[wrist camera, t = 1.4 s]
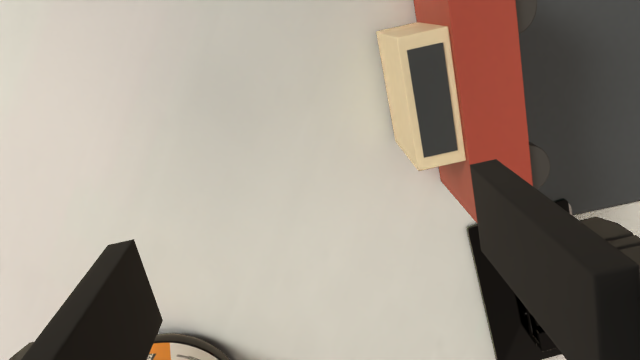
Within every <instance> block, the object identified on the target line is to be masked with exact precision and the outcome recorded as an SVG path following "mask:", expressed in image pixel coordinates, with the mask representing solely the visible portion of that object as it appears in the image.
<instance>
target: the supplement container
mask: <svg viewBox="0 0 640 360" xmlns="http://www.w3.org/2000/svg"><path fill="white" fill-rule="evenodd" d="M147 360H230V359H229V358H228V357H227V356H226V355H225V354H224V353H223V352H222V351H220V350H219V349H218V348H216V347H215V346H213V345H212V344H210V343H208V342H206V341H204V340H201V339H199V338H196V337H192V336H188V335H183V334H168V333H167V334H157V336H156V338H155V341H154V343H153V345H152V348H151V350H150V353H149V355H148V358H147Z"/></svg>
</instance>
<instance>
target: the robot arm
mask: <svg viewBox="0 0 640 360" xmlns="http://www.w3.org/2000/svg"><path fill="white" fill-rule="evenodd" d="M470 171H471V178H472V186H473V193H474V201H475V208H476V216H477V223H478V230H479V238H480V245H481V251H482V252H483V253H484V255H485V256H486V257H487V259H488V260H489V261H490V262H491V264H492V265H493V266H494V267H495V269H496V270H497V271H498V273H499V274H500V275H501V276H502V278H503V279H504V280H505V281H506V283H507V284H508V285H509V287H510V288H511V289H512V290H513V292H514V293H515V294H516V295H517V297H518V298H519V299H520V301H521V302H522V303H523V304H524V306H525V307H526V308H527V309H528V311H529V312H530V313H531V315H532V316H533V317H534V318H535V320H536V321H537V322H538V324H539V325H540V326H541V327H542V329H543V330H544V331H545V332H546V334H547V335H548V336H549V338H550V339H551V340H552V341H553V343H554V344H555V345H556V346H557V348H558V349H559V350H560V352H561V353H562V354H563V355H564V357H565V358H566V359H567V360H640V238H639V237H638V236H636V235H634V236H633V233H632V232H630V231H629V230H627V229H626V228H624V227H623V226H621V225H619V224H618V223H615V222H612V221H608V220H605V219H602V218H599V217H593V218H588V219H583V220H578V219H576V218H575V217H574V216H572V215H571V214H570V213H568V212H567V211H566V210H564V209H563V208H562V207H560V206H559V205H558V204H556V203H555V202H553V201H552V200H551V199H549V198H548V197H547V196H545V195H544V194H543V193H541V192H540V191H539V190H537V189H536V188H535V187H533V186H532V185H530V184H529V183H528V182H526V181H525V180H524V179H522V178H521V177H520V176H518V175H517V174H516V173H514V172H513V171H512V170H510V169H509V168H508V167H506V166H505V165H503V164H502V163H501V162H499V161H498V160H497V159H494V160H489V161H485V162H480V163H476V164H471V165H470ZM162 321H163V320H162V317H161V314H160V312H159V309H158V306H157V303H156V300H155V298H154V295H153V292H152V289H151V286H150V284H149V281H148V278H147V275H146V272H145V269H144V267H143V264H142V261H141V258H140V255H139V253H138V250H137V247H136V244H135V241H134V240H129V241H125V242H120V243H116V244H111V245H108V246H107V247H106V249H105V250H104V251H103V252H102V254H101V255H100V256H99V258H98V259H97V260H96V262H95V263H94V264H93V266H92V267H91V268H90V270H89V271H88V272H87V274H86V275H85V276H84V277H83V279H82V280H81V281H80V283H79V284H78V285H77V287H76V288H75V289H74V291H73V292H72V293H71V295H70V296H69V297H68V298H67V300H66V301H65V302H64V304H63V305H62V306H61V308H60V309H59V310H58V312H57V313H56V314H55V316H54V317H53V318H52V320H51V321H50V322H49V323H48V325H47V326H46V327H45V329H44V330H43V331H42V333H41V334H40V335H39V337H38V338H37V339H36V341H35V342H31V343H29V344H28V345H26V346H25V347H24V348H23V349H21V350H20V351H19V352H18V353H16V354H15V355H14V356H13V357H11V358H10V359H9V360H147V358H148V355H149V353H150V350H151V348H152V345H153V343H154V341H155V338H156V336H157V333H158V331H159V328H160V326H161V323H162Z"/></svg>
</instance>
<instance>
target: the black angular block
mask: <svg viewBox="0 0 640 360" xmlns="http://www.w3.org/2000/svg"><path fill="white" fill-rule="evenodd" d="M553 202H555V203H556V204H558V205H559V206H560V207H562V208H563V209H564V210H566V211H567V212H568V213H570V214H571V215H572V209H571V205H570V204H569V203H568V201H567V200H566V199H559V200H555V201H553ZM572 216H573V215H572ZM467 233H468V237H469V242H470V246H471V251H472V255H473V259H474V264H475V268H476V273H477V277H478V282H479V286H480V290H481V295H482V299H483V304H484V308H485V312H486V317H487V321H488V326H489V330H490V334H491V339H492V343H493V348H494V352H495V356H496V360H542V359H545V358H549V357H552V356H556V355H559V354H562V353H561V352H560V350H559V349H558V348H557V346H556V345H555V344H554V343H553V341H552V340H551V339H550V338H549V336H548V335H547V334H546V332H545V331H544V330H543V329H542V327H541V326H540V325H539V324H538V322H537V321H536V320H535V318H534V317H533V316H532V315H531V313H530V312H529V311H528V309H527V308H526V307H525V306H524V304H523V303H522V302H521V301H520V299H519V298H518V297H517V295H516V294H515V293H514V292H513V290H512V289H511V288H510V287H509V285H508V284H507V283H506V281H505V280H504V279H503V278H502V276H501V275H500V274H499V273H498V271H497V270H496V269H495V267H494V266H493V265H492V264H491V262H490V261H489V260H488V259H487V257H486V256H485V255H484V253H483V252H482V251H481V245H480V238H479V230H478V223H477V224H474V225H471V226H468V227H467Z"/></svg>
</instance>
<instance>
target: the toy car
mask: <svg viewBox="0 0 640 360" xmlns="http://www.w3.org/2000/svg"><path fill="white" fill-rule="evenodd" d="M414 6H415V13H416V20H417V22H416V23H412V24H407V25H403V26H398V27H394V28H390V29H385V30H381V31H377V32H376V33H377V39H378V44H379V50H380V56H381V62H382V67H383V73H384V79H385V84H386V90H387V96H388V102H389V107H390V113H391V119H392V125H393V130H394V136H395V141H396V142H397V144H398V145H399V146H400V148H401V149H402V150H403V151H404V153H405V154H406V155H407V157H408V158H409V159H410V161H411V162H412V163H413V164H414V166H415V167H416V168H417V170H418V171H421V170H426V169H430V168H435V167H439V172H440V179H441V182H442V183H443V184H444V185H445V186H446V187H447V189H448V190H449V191H450V192H451V193H452V194H453V196H454V197H455V198H456V199H457V200H458V201H459V203H460V204H461V205H462V206H463V207H464V208H465V210H466V211H467V212H468V213H469V214H470V215H471V217H472V218H473V219H474V220H475V221H476V222H477V216H476V208H475V201H474V193H473V186H472V178H471V171H470V165H471V164H476V163H480V162H485V161H489V160H494V159H497V160H498V161H499V162H501V163H502V164H503V165H505V166H506V167H508V168H509V169H510V170H512V171H513V172H514V173H516V174H517V175H518V176H520V177H521V178H522V179H524V180H525V181H526V182H528V183H529V184H530V185H532V186H533V187H535V188H536V189H539V188H540V187H541V186H542V185H543V184H544V183H545V181H546V180H547V178H548V176H549V173H550V160H549V157H548V155H547V154H546V152H545V151H544V150H543V149H542V148H540V147H538V146H537V145H535V144H533V143H531V142H529V139H528V128H527V117H526V107H525V96H524V85H523V75H522V64H521V53H520V43H519V34H521V33H522V32H524V31H525V30H526V29H527V28H528V27H529V26H530V24H531V23H532V21H533V19H534V17H535V14H536V11H537V0H414Z"/></svg>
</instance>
